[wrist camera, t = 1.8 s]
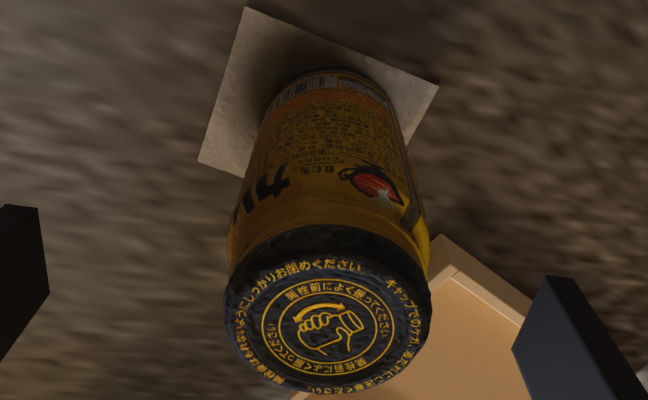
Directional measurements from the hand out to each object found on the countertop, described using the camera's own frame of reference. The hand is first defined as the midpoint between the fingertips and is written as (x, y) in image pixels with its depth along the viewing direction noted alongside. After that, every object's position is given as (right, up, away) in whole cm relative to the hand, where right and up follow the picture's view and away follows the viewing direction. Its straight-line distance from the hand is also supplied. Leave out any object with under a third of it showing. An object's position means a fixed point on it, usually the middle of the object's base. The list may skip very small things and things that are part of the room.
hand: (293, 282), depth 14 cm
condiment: (0, +6, +9) cm, 11 cm away
